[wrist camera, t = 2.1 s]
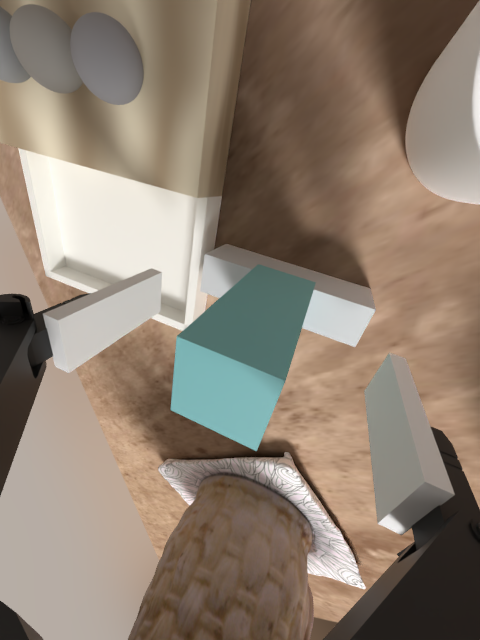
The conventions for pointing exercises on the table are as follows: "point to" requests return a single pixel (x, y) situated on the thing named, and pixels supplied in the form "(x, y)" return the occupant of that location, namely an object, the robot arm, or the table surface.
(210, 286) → the teal and white t-block
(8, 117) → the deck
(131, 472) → the table surface
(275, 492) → the cookie jar
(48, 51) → the pebble mid
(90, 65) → the pebble
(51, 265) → the tray
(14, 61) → the pebble
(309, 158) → the table surface
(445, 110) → the cup
